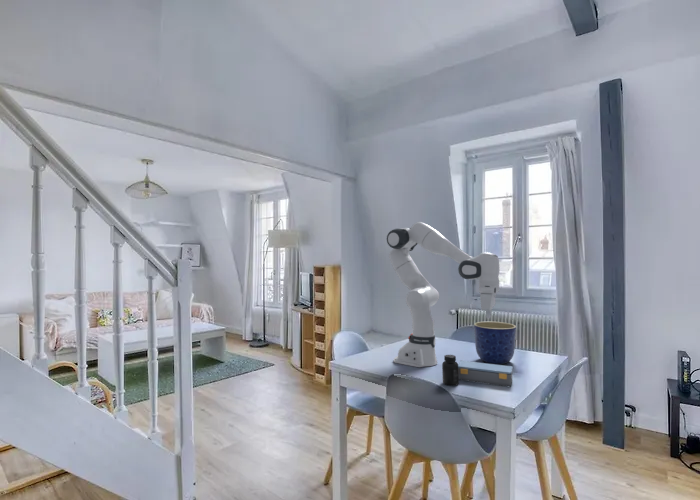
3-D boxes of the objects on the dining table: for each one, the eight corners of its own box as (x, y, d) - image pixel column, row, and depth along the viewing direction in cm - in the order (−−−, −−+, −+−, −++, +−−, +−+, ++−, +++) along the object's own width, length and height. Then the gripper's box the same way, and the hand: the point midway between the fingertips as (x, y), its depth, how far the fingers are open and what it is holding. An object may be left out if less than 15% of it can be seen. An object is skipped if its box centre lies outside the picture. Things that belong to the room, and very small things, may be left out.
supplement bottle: (455, 380, 173) (455, 353, 173) (460, 386, 166) (460, 357, 166) (440, 381, 172) (440, 353, 173) (444, 386, 166) (444, 358, 166)
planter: (520, 368, 191) (520, 329, 191) (476, 366, 195) (476, 327, 195) (511, 357, 211) (511, 322, 211) (472, 355, 215) (471, 320, 215)
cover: (456, 372, 173) (456, 366, 173) (461, 366, 183) (461, 360, 183) (511, 379, 164) (511, 373, 164) (512, 372, 173) (512, 366, 174)
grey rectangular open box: (457, 379, 174) (457, 368, 174) (461, 373, 183) (461, 362, 183) (510, 386, 165) (510, 375, 165) (512, 379, 174) (512, 368, 174)
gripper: (485, 285, 190) (484, 313, 190) (478, 289, 172) (477, 320, 172) (498, 286, 187) (498, 315, 187) (493, 290, 169) (493, 322, 169)
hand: (488, 317), depth 179 cm, fingers closed
